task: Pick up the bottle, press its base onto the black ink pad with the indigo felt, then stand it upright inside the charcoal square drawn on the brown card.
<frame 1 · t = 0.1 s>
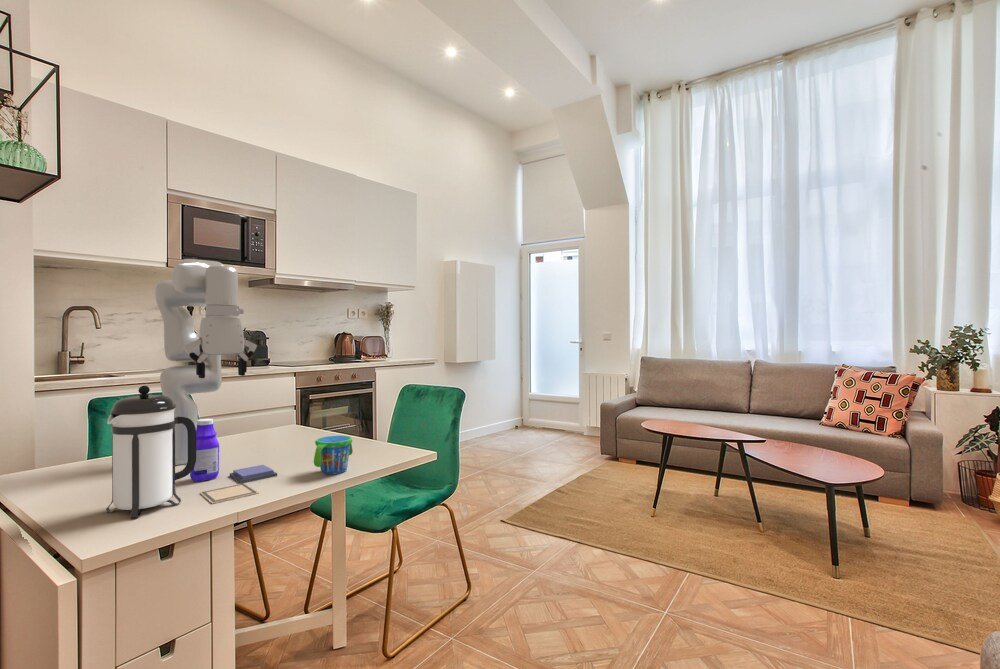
hand: (222, 376, 128), 31 cm above the table, tool pointing down, fingers open, 9 cm apart
bottle: (204, 479, 140), on the table
ink pad: (253, 475, 143), on the table
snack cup: (334, 472, 148), on the table
marked card: (229, 493, 127), on the table
coffee press: (149, 507, 118), on the table
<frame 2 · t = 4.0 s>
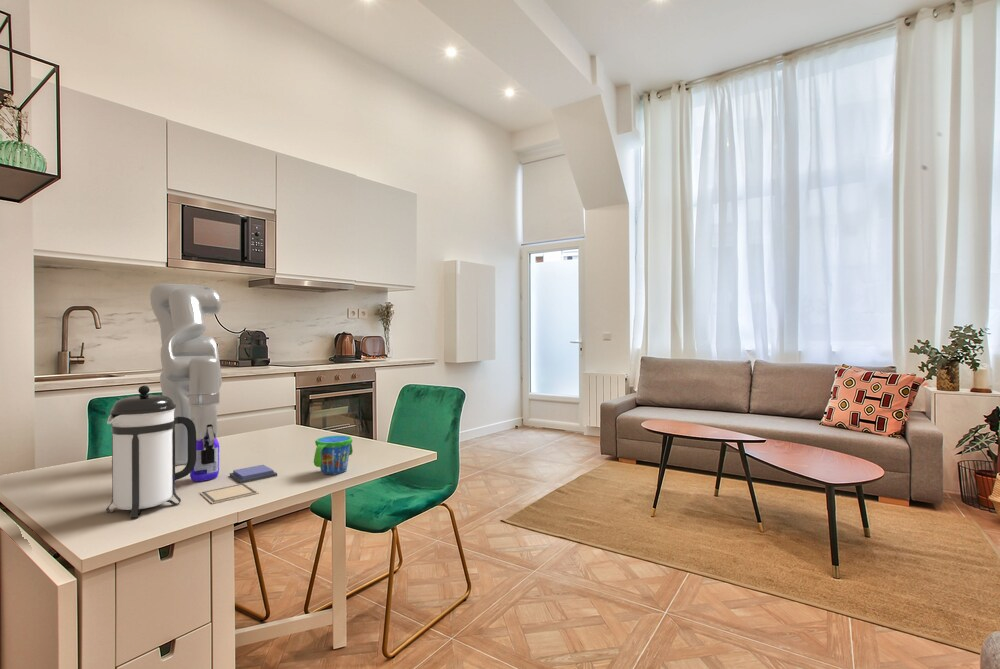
hand: (204, 460, 140), 5 cm above the table, tool pointing down, fingers closed on bottle, 5 cm apart
bottle: (204, 479, 140), on the table, touching gripper
everything else where it was.
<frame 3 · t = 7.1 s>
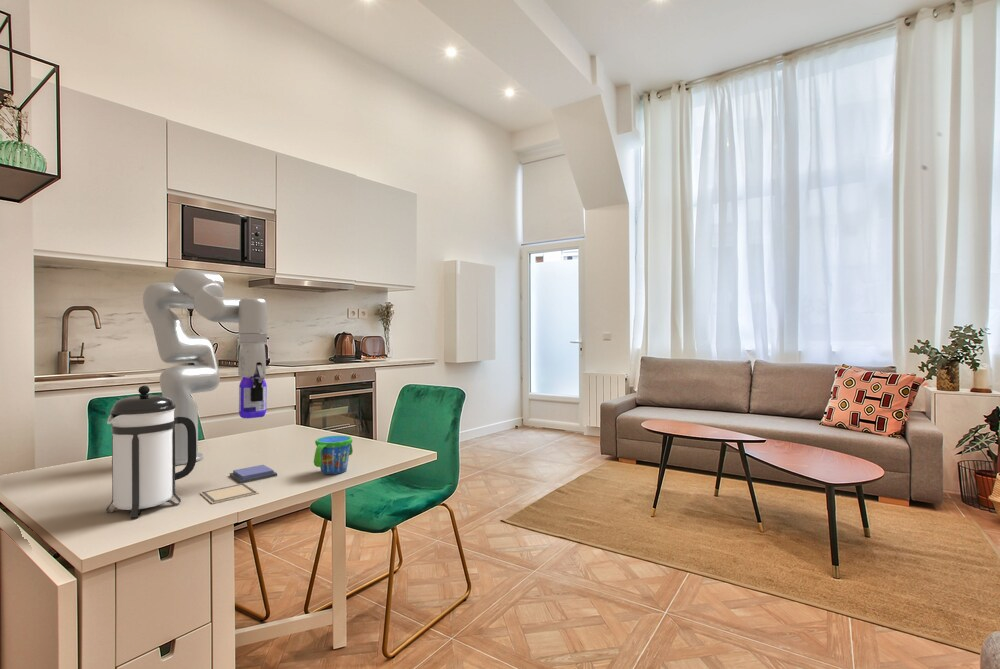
hand: (253, 399, 143), 23 cm above the table, tool pointing down, fingers closed on bottle, 5 cm apart
bottle: (252, 417, 143), point 17 cm above the table, touching gripper
everything else where it was.
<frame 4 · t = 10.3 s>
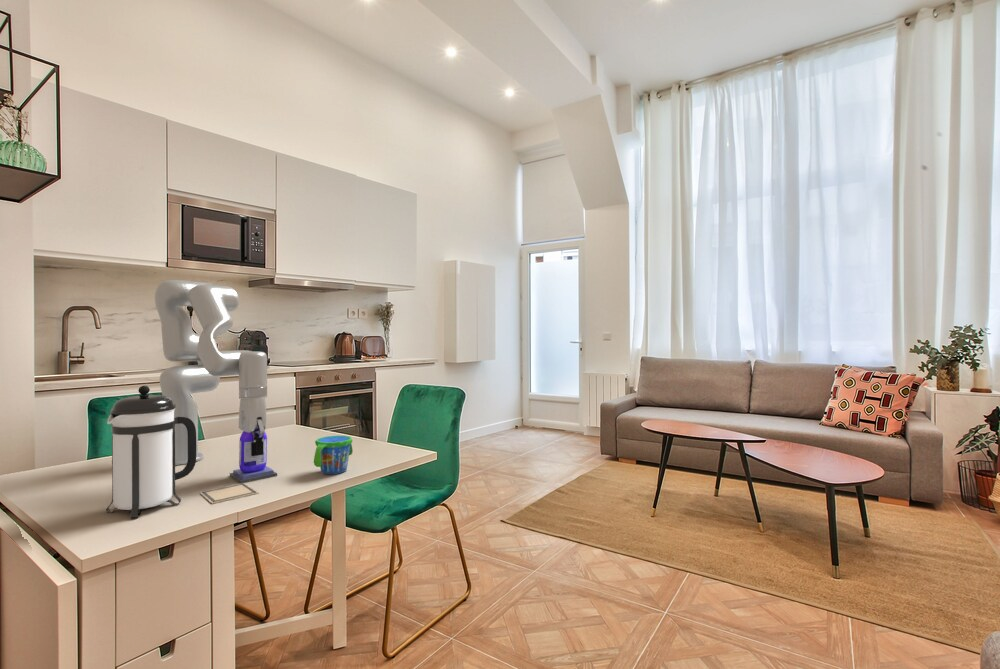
hand: (253, 452, 143), 7 cm above the table, tool pointing down, fingers closed on bottle, 5 cm apart
bottle: (253, 470, 143), point 2 cm above the table, touching gripper, ink pad
everything else where it was.
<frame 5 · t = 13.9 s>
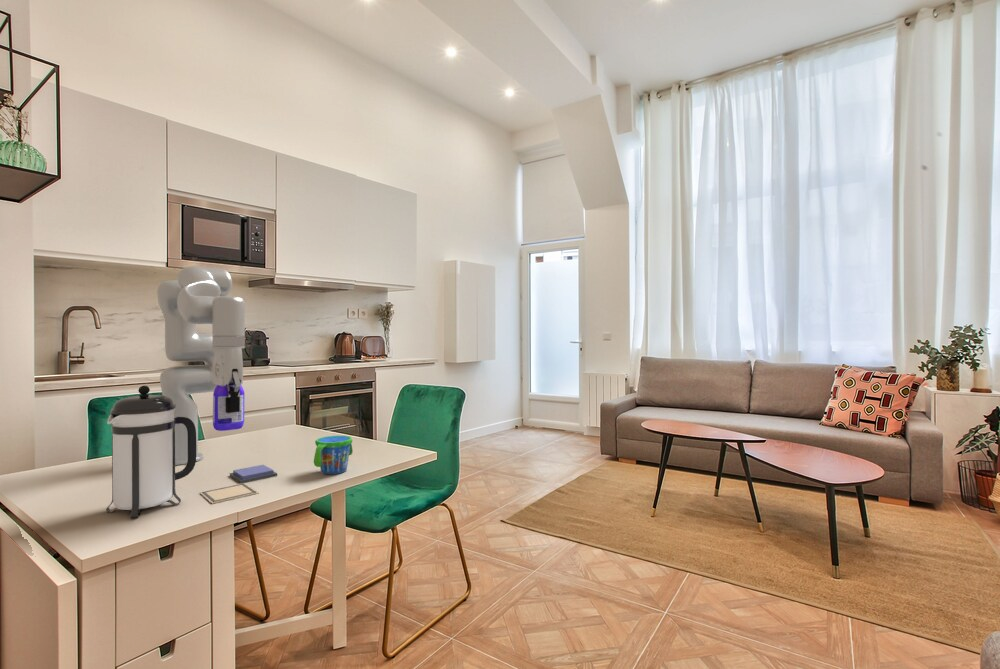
hand: (228, 410, 127), 22 cm above the table, tool pointing down, fingers closed on bottle, 5 cm apart
bottle: (228, 430, 127), point 17 cm above the table, touching gripper
everything else where it was.
when the fingers open (7 cm above the table, at t = 17.0 s): bottle drops 1 cm, resting on marked card.
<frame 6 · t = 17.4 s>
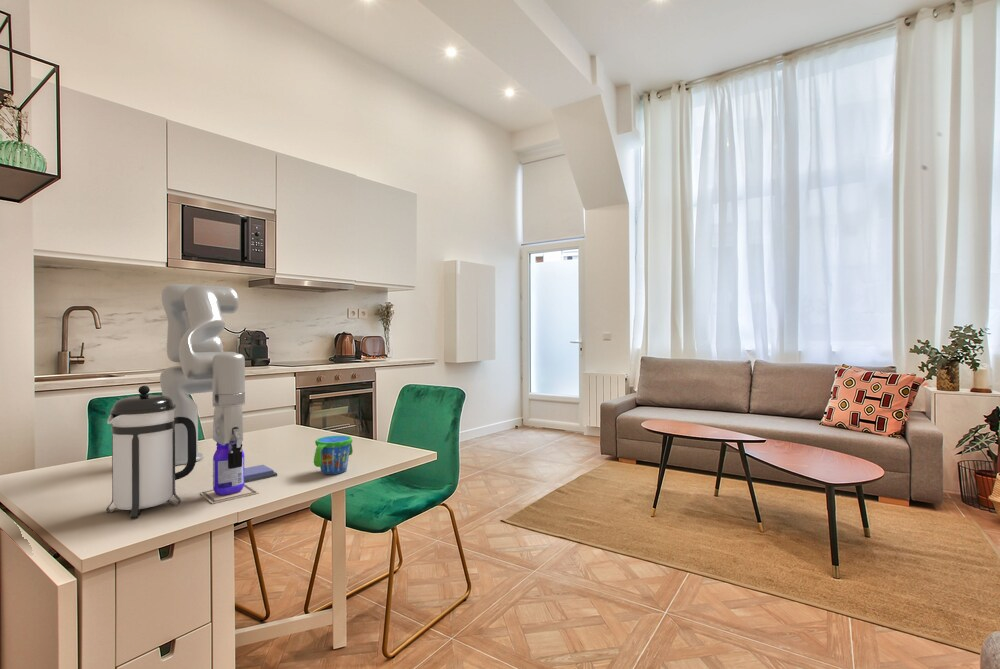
hand: (229, 464, 127), 8 cm above the table, tool pointing down, fingers open, 9 cm apart
bottle: (229, 492, 128), resting on marked card
everything else where it was.
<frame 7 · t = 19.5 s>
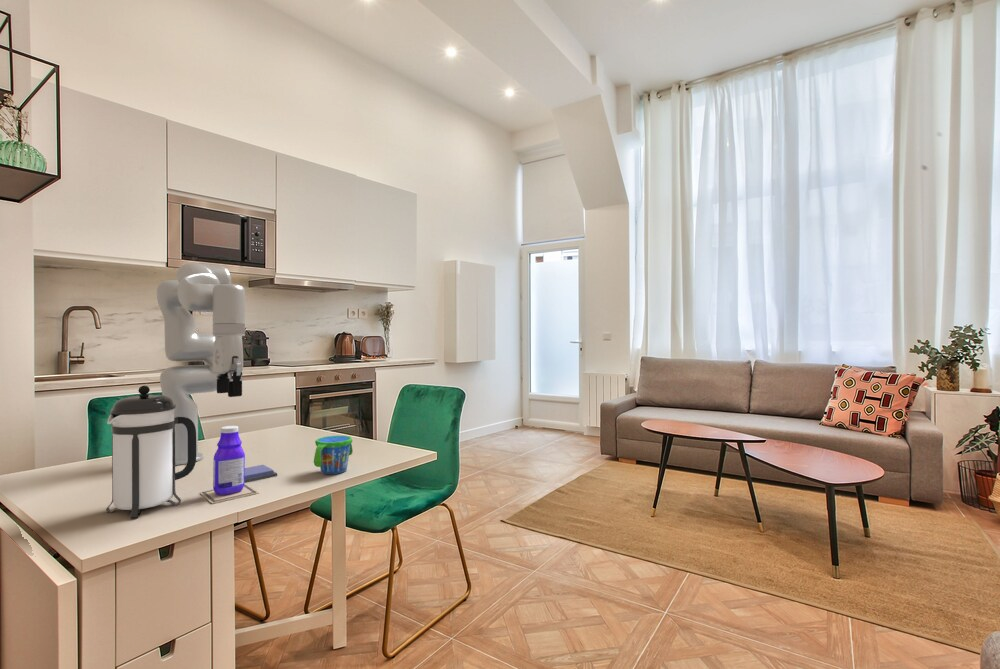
hand: (229, 394, 128), 26 cm above the table, tool pointing down, fingers open, 9 cm apart
nothing on the table moved.
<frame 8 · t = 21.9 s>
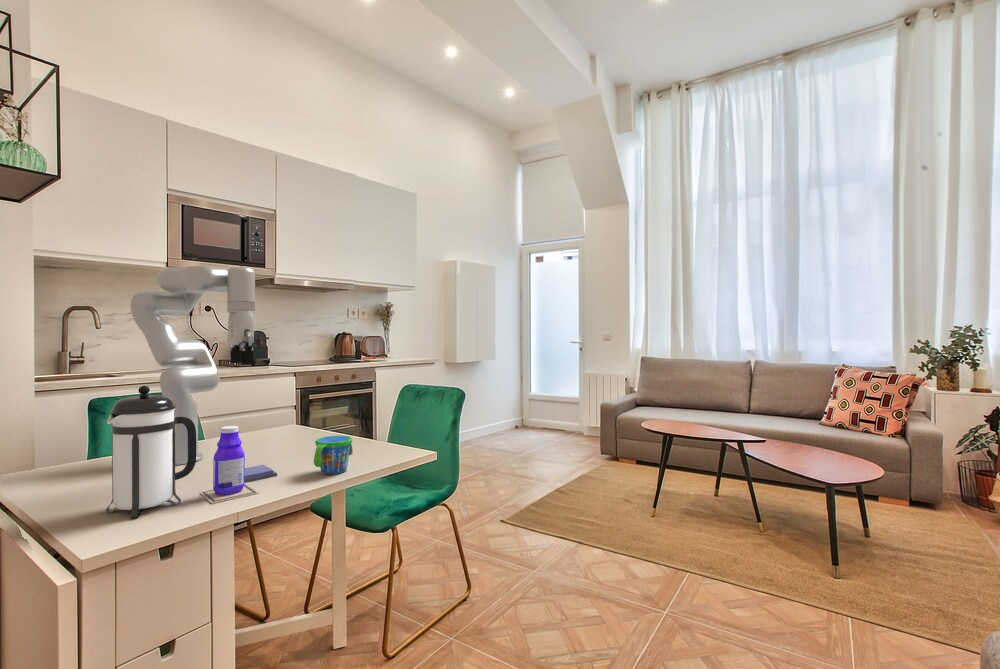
hand: (241, 363, 147), 33 cm above the table, tool pointing down, fingers open, 9 cm apart
nothing on the table moved.
at the end: bottle 0.3 cm off-centre on the marked card, point 0.1 cm above the marked card's base; bottle tilted 0°; the gripper is holding nothing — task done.
